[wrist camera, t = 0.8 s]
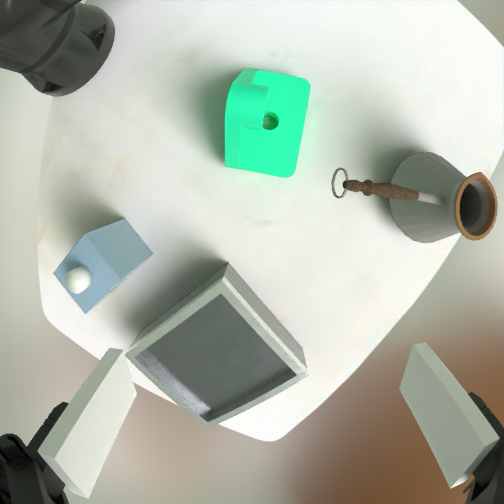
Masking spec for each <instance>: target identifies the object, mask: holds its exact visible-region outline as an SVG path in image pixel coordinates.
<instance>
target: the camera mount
mask: <svg viewBox="0 0 504 504" xmlns="http://www.w3.org/2000/svg"><path fill="white" fill-rule="evenodd" d="M309 93H310V84H309V82H308V81H307V80H306V79H303V78H299V77H295V76H290V75H285V74H280V73H274V72H269V71H263V70H257V69H250V68H245V69H244V70H243V71H242V72H241V73H240V74H239V75H238V77H237V78H236V79H235V80H234V81H233V82H232V84H231V87H230V90H229V93H228V98H227V103H226V110H225V167H230V168H236V169H242V170H248V171H253V172H258V173H264V174H269V175H274V176H279V177H290V176H292V175H293V174H294V172H295V168H296V163H297V158H298V153H299V147H300V142H301V137H302V132H303V126H304V121H305V115H306V110H307V104H308V99H309ZM265 116H272V117H274V118H275V119H276V120H277V122H278V126H277V127H276V128H275V129H273V130H266V129H264V128H263V127H262V124H263V120H264V117H265Z"/></svg>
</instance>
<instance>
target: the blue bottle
mask: <svg viewBox="0 0 504 504" xmlns="http://www.w3.org/2000/svg"><path fill="white" fill-rule="evenodd" d="M152 254H153V252H152V251H151V250H150V249H149V248H148V246H147V245H146V244H145V243H144V241H143V240H142V239H141V238H140V236H139V235H138V234H137V233H136V232H135V230H134V229H133V228H132V227H131V225H130V224H129V223H128V221H127V220H126V219H122V220H120V221H117V222H114V223H111V224H109V225H106V226H103V227H101V228H98V229H95V230H93V231H90V232H88V233H85V234H84V235H83V236H82V237H81V239H80V240H79V241H78V242H77V244H76V245H75V246H74V247H73V248H72V250H71V251H70V252H69V253H68V255H67V256H66V257H65V259H64V260H63V261H62V262H61V264H60V265H59V266H58V268H57V269H56V270H55V272H54V275H55V276H56V277H57V279H58V280H59V281H60V283H61V284H62V285H63V287H64V288H65V289H66V291H67V292H68V293H69V294H70V296H71V297H72V298H73V299H74V301H75V302H76V303H77V304H78V306H79V307H80V308H81V309H82V310H83V312H84V313H85V314H87V313H88V312H89V311H90V310H91V309H92V308H93V307H94V306H96V305H97V304H98V303H99V302H100V301H101V300H103V299H104V298H105V297H106V296H107V295H108V294H109V293H111V292H112V291H113V290H114V289H115V288H117V287H118V286H119V285H120V284H121V283H122V282H123V281H124V280H125V279H127V278H128V277H129V276H130V275H131V274H132V273H133V272H134V271H135V270H136V269H137V268H138V267H139V266H140V265H142V264H143V263H144V262H145V261H146V260H147V259H148V258H149V257H150V256H151V255H152Z"/></svg>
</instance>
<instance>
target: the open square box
mask: <svg viewBox="0 0 504 504" xmlns="http://www.w3.org/2000/svg"><path fill="white" fill-rule="evenodd" d="M125 356H126V357H127V358H128V359H129V360H130V361H131V362H132V363H133V364H134V365H135V366H136V367H137V368H138V369H139V370H140V371H141V372H142V373H143V374H144V375H145V376H146V377H147V378H148V379H150V380H151V381H152V382H153V383H154V384H155V385H156V386H157V387H158V388H159V389H161V390H162V391H163V392H164V393H165V394H166V395H167V396H168V397H170V398H171V399H172V400H173V401H174V402H175V403H177V404H178V405H179V406H180V407H181V408H183V409H184V410H185V411H186V412H188V413H189V414H190V415H191V416H193V417H194V418H195V419H196V420H198V421H199V422H200V423H202V424H203V425H204V426H205V427H207V428H209V427H212V426H214V425H216V424H219V423H221V422H223V421H225V420H227V419H229V418H231V417H233V416H236V415H238V414H240V413H242V412H244V411H246V410H248V409H250V408H252V407H254V406H256V405H258V404H259V403H261V402H263V401H265V400H267V399H269V398H271V397H273V396H274V395H276V394H278V393H280V392H282V391H283V390H285V389H287V388H289V387H290V386H292V385H294V384H296V383H297V382H299V381H301V380H302V379H304V378H306V377H307V376H308V371H307V366H306V362H305V357H304V353H303V348H302V347H301V346H300V345H299V344H298V342H297V341H296V340H295V339H294V338H293V337H292V336H291V334H290V333H289V332H288V331H287V330H286V329H285V328H284V327H283V325H282V324H281V323H280V322H279V321H278V320H277V319H276V317H275V316H274V315H273V314H272V313H271V312H270V310H269V309H268V308H267V307H266V306H265V305H264V304H263V302H262V301H261V300H260V299H259V298H258V297H257V295H256V294H255V293H254V292H253V291H252V290H251V288H250V287H249V286H248V285H247V284H246V283H245V281H244V280H243V279H242V278H241V277H240V276H239V274H238V273H237V272H236V271H235V270H234V269H233V267H232V266H231V265H230V264H229V263H228V264H226V265H225V266H224V267H222V268H221V269H220V270H219V271H217V272H216V273H215V274H213V275H212V276H211V277H210V278H208V279H207V280H206V281H204V282H203V283H202V284H201V285H199V286H198V287H197V288H195V289H194V290H193V291H192V292H190V293H189V294H188V295H186V296H185V297H184V298H183V299H181V300H180V301H179V302H178V303H176V304H175V305H174V306H172V307H171V308H170V309H169V310H167V311H166V312H165V313H163V314H162V315H161V316H160V317H158V318H157V319H156V320H155V321H153V322H152V323H151V324H149V325H148V326H147V327H146V328H144V329H143V330H142V331H141V332H140V333H139V335H138V336H137V337H136V339H135V340H134V342H133V343H132V345H131V346H130V347H129V349H128V350H127V352H126V353H125Z"/></svg>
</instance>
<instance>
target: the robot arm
mask: <svg viewBox="0 0 504 504" xmlns="http://www.w3.org/2000/svg"><path fill="white" fill-rule="evenodd" d="M80 1H81V0H0V68H4V69H7V70H11V71H14V72H18V73H21V74H22V75H23V76H24V77H25V78H26V79H27V80H28V81H29V82H30V83H31V84H32V85H33V86H34V88H35V89H37V90H38V91H40V92H41V93H44V94H47V95H51V96H63V95H67V94H69V93H72V92H74V91H76V90H77V89H79V88H80V87H82V86H83V85H84V84H86V83H87V82H88V81H89V80H90V79H91V78H92V77H93V76H94V75H95V74H96V73H97V71H98V70H99V69H100V68H101V66H102V65H103V63H104V62H105V60H106V58H107V57H108V55H109V53H110V50H111V48H112V45H113V42H114V36H115V27H114V23H113V21H112V19H111V18H110V16H109V15H107V14H106V13H105V12H104V11H103V10H102V9H100V8H98V7H95V6H91V5H87V4H82V3H79V2H80ZM399 390H400V391H401V393H402V395H403V397H404V399H405V401H406V402H407V404H408V406H409V408H410V410H411V411H412V413H413V415H414V417H415V419H416V421H417V422H418V424H419V426H420V428H421V430H422V432H423V434H424V436H425V438H426V440H427V442H428V444H429V446H430V447H431V450H432V452H433V454H434V455H435V458H436V460H437V462H438V464H439V465H440V468H441V470H442V472H443V474H444V476H445V478H446V480H447V482H448V484H449V486H450V488H452V487H455V486H457V485H459V484H461V483H463V482H465V481H466V480H467V479H468V478H469V477H470V476H471V474H472V473H473V475H474V477H475V478H474V479H473V481H472V482H471V483H470V484H469V485H468V486H467V487H466V488H465V489H464V491H463V493H465V492H466V491H467V490H468V489H469V488H470V490H469V493H468V497H467V500H466V503H465V504H504V428H503V426H502V425H501V424H500V422H499V421H498V420H497V418H496V417H495V416H494V414H492V412H491V411H490V409H489V408H487V405H486V404H485V403H484V401H483V400H482V399H481V398H480V397H479V396H477V395H476V394H474V393H472V392H471V393H469V394H467V393H466V391H465V390H464V389H463V387H462V386H461V385H460V384H459V382H458V381H457V380H456V379H455V377H454V376H453V375H452V374H451V372H450V371H449V370H448V369H447V367H446V366H445V365H444V364H443V362H442V361H441V360H440V359H439V358H438V357H437V355H436V354H435V353H434V352H433V351H432V349H431V348H430V347H429V346H428V344H427V343H426V342H425V343H419V344H413V345H412V349H411V352H410V356H409V359H408V362H407V366H406V369H405V372H404V375H403V378H402V382H401V385H400V388H399ZM136 395H137V393H136V390H135V387H134V384H133V380H132V377H131V374H130V371H129V367H128V364H127V360H126V357H125V353H124V350H121V349H112V348H109V349H108V351H107V352H106V353H105V355H104V356H103V357H102V359H101V360H100V361H99V363H98V364H97V366H96V367H95V368H94V370H93V371H92V372H91V374H90V375H89V376H88V378H87V379H86V380H85V382H84V383H83V385H82V386H81V388H80V389H79V390H78V392H77V393H76V395H75V396H74V397H73V399H72V400H71V402H70V403H65V402H62V403H61V404H59V405H58V406H57V407H55V408H54V409H53V410H52V412H51V413H50V414H49V416H48V418H47V419H46V420H45V422H44V424H43V425H42V426H41V427H40V429H39V430H38V431H37V433H36V434H35V436H34V437H33V439H32V440H31V442H30V443H29V445H28V446H27V447H26V446H25V444H24V443H23V442H22V440H21V439H20V438H19V437H18V436H17V435H14V434H5V435H2V436H1V437H0V504H69V502H68V500H67V497H66V495H65V493H64V491H63V489H64V487H65V485H66V486H67V487H68V488H69V489H70V491H71V492H73V493H75V494H78V495H80V496H83V497H85V498H89V496H90V494H91V492H92V489H93V487H94V485H95V483H96V480H97V478H98V475H99V473H100V471H101V469H102V466H103V465H104V462H105V460H106V458H107V456H108V454H109V451H110V449H111V447H112V445H113V442H114V440H115V438H116V436H117V434H118V432H119V430H120V428H121V426H122V424H123V422H124V419H125V417H126V415H127V413H128V411H129V409H130V407H131V405H132V403H133V401H134V398H135V397H136Z"/></svg>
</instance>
